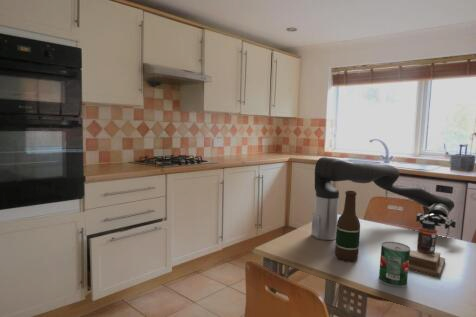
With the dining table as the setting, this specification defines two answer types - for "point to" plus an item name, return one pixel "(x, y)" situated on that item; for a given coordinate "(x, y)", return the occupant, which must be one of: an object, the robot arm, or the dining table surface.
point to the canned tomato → (394, 264)
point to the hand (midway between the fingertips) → (433, 224)
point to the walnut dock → (426, 263)
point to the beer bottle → (348, 231)
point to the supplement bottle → (427, 237)
